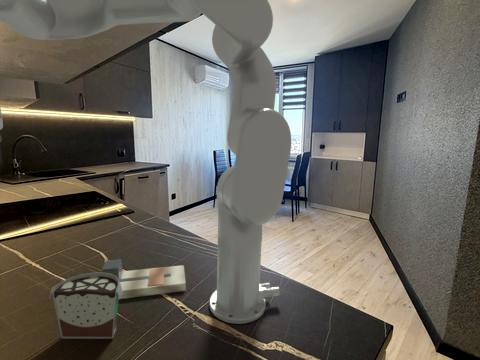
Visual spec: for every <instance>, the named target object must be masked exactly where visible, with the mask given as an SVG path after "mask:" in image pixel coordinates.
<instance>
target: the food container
mask: <svg viewBox="0 0 480 360" xmlns="http://www.w3.org/2000/svg"><path fill="white" fill-rule="evenodd" d="M121 296H122V287H121V284H120V281H119V280H118V278H117V277H116V276H115V275H113V274H110V273H104V272H102V271H101V272H100V271H98V272H97V271H95V272H89V273H83V274H78V275H76V276H71V277H69V278H67V279H64V280H62V281H61V282H59V283H57V284H55V285H54V286H53V287H51V291H50V292H49V297H48V299H49V300H51V299H52V298H53V304H54V305H53V306H54V309H55V313H56V318H57V322H58V327H59V333H60V338H61V339H112V340H113V339H114V338H115V336H116V335H117V333H116V332H117V321H118V309H119V308H118V306H119V300H121V299H120V298H121ZM118 298H119V299H118Z"/></svg>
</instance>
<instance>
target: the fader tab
mask: <svg viewBox="0 0 480 360" xmlns="http://www.w3.org/2000/svg"><path fill="white" fill-rule="evenodd" d="M122 260H123V259H122V258H118V259H107V260H105V262H104V264H103V266H102V267H101V272H104V273H110V274H113V275H115V276H116V277H117V278H118V280H119V281H120V280H121V277H122V271H123V261H122Z"/></svg>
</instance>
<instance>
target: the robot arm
mask: <svg viewBox="0 0 480 360" xmlns="http://www.w3.org/2000/svg"><path fill="white" fill-rule="evenodd" d="M201 14H202V15H204V17H206V18H208V20H209V21H211V22H212V23H213V24H214V28H213V30H212V35H211V36H212V37H211V43H212V47H213V50H214V53H215V54H216V57H218V59H219V60H220V61H221V62H222V64H224V65H225V67H226V68H227V69H228V70H229V72H230V74H231V76H232V84H233V87H232V88H233V89H232V90H233V91H232V100H231V108H230V116H229V121H228V123H229V124H228V129H227V134H226V135H227V136H226V140H227V146H228V148H229V150H230V152H232V153H233V154H234V155H235V158H234V165H233V166H231V167H228V168H227V169H226V170H224V171H223V173H221V175H220V177H219V178H218V181H217V185H216V207H217V259H216V260H217V262H216V263H217V264H216V267H217V268H216V269H217V270H216V289H215V291H214V292H213V293H211V295H210V298H209V308H210V309H209V310H210V311H211V313H212V314H213V315H214V316H215V317H216V318H218V320H221V321H223V322H225V323H228V324H235V325H236V324H237V325H242V324H248V323H252V322H254V321H256V320H259V318H261V317H262V316H263V314H264V312H265V310H266V304H267V303H266V299H267V298H268V297H277V296H280V295H281V292H280V288H279V286H271V283H270V282H263V283H261V282H260V281H261V259H262V242H263V225H264V224H265V223H269V221H271V220H272V219H273V218H274V217H275V216H276V214H277V213H278V211H279V210H280V207H281V205H282V201H283V197H284V192H285V189H286V182H287V181H286V180H287V175H288V171H289V170H288V168H289V163H290V157H291V149H292V134H291V129H290V126H289V123H288V122H287V119H286V118H285V117H284V115H282V114H281V113H280V112H278V111H277V110H275V103H276V92H277V78H276V71H275V69H274V67H273V64H272V62H271V60H270V59H269V57H268V55H267V54H266V52H265V51H264V49H262V46H263V45H264V44H265V43H266V41H267V40H268V39H269V36H270V35H271V33H272V29H273V24H274V15H273V14H274V13H273V10H272V7H271V4H270V2H269V1H268V0H0V21H1V23H4V24H5V25H6V26H8V27H10V28H11V29H12V30H13V31H15V32H17V33H18V34H20V35H21V36H23V37H26V38H30V39H34V40H41V41H42V40H43V41H53V40H54V41H56V40H57V41H58V40H74V39H82V38H87V37H92V36H95V35H97V34H100V33H103V32H106V31H108V30H110V29H112V28H114V27H116V26H122V25H123V26H124V25H137V24H138V25H139V24H159V23H161V24H163V23H184V22H190V21H193V20H195V19H197V18H198V17H199V16H200V15H201ZM3 122H4V120H3V115H2V110H1V107H0V143H1V141H2V137H1V135H2V132H3V128H4V123H3ZM2 164H3V156H2V147H1V146H0V165H2Z"/></svg>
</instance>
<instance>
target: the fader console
mask: <svg viewBox="0 0 480 360" xmlns="http://www.w3.org/2000/svg"><path fill="white" fill-rule="evenodd" d="M185 273H186V272H185V265H173V266H172V265H171V266H162V267H154V268H153V267H151V268H143V269H133V270H122V277H121V280H120V284H121V287H122V296H121V298H120V299H119V298H118V300H122V299H129V298H138V297H146V296H155V295H162V294H170V293H176V292H179V293H180V292H186V291H187V283H186V274H185Z"/></svg>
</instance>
